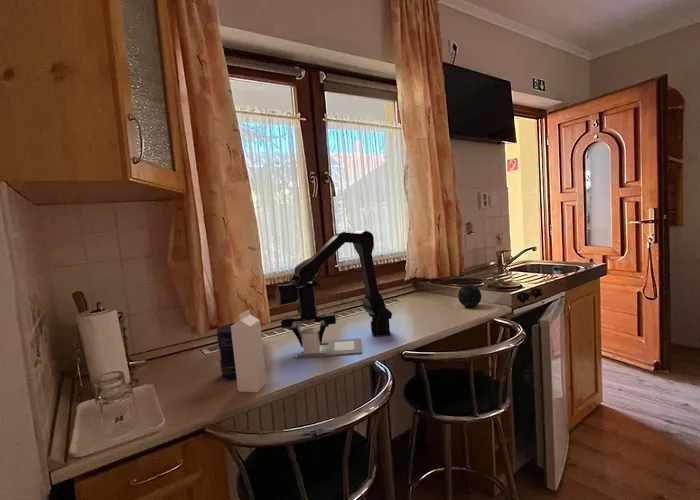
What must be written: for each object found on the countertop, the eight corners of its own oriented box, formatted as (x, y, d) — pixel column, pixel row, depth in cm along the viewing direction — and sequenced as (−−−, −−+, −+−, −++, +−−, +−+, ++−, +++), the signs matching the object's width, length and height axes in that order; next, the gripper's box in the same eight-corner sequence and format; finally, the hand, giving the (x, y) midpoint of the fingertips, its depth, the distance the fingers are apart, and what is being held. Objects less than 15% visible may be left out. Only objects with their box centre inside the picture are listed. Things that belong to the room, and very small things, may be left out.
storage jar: (223, 383, 122) (218, 334, 121) (220, 372, 131) (214, 326, 130) (257, 375, 126) (252, 328, 125) (251, 365, 135) (246, 320, 134)
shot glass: (324, 347, 147) (322, 327, 147) (316, 353, 141) (315, 334, 140) (307, 346, 150) (305, 327, 149) (298, 353, 143) (296, 333, 142)
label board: (360, 339, 153) (360, 337, 152) (362, 354, 138) (362, 351, 138) (301, 344, 153) (301, 342, 153) (296, 359, 138) (296, 357, 138)
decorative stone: (454, 306, 188) (453, 284, 187) (473, 303, 191) (472, 281, 190) (466, 311, 179) (465, 288, 178) (486, 307, 182) (485, 285, 181)
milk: (238, 392, 116) (228, 315, 113) (248, 382, 122) (239, 309, 119) (257, 392, 114) (248, 314, 112) (267, 383, 120) (258, 308, 118)
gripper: (334, 293, 151) (338, 334, 153) (283, 297, 151) (288, 338, 153) (333, 300, 140) (337, 344, 142) (278, 304, 140) (283, 349, 142)
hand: (311, 343), depth 145 cm, fingers closed on shot glass, 6 cm apart
